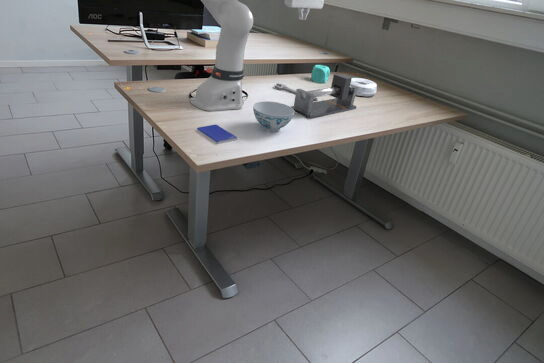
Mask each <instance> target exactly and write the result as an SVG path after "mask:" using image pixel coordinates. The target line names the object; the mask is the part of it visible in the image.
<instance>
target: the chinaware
mask: <svg viewBox="0 0 544 363" xmlns="http://www.w3.org/2000/svg"><path fill="white" fill-rule="evenodd" d="M291 107H292V106H290V105H288V104H285V103H281V102H276V101H268V100H267V101H265V100H264V101H259V102H258V101H257V102H255V103H254V104H253V106H252V109H253V110H252V111H253V115H254V117H255V120H256V122H257V123H259V124H260V126H261V127H262V129H263V130H264V131H266V132H272V133H273V132H274V133H275V132H279V131H280V130H281V129H282V128H284V127H286V126H287V125H288V124H289V123H290V122H291V120H292V119H293V118H294V114H295V112H294V109H293V108H291Z"/></svg>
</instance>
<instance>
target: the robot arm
mask: <svg viewBox="0 0 544 363" xmlns="http://www.w3.org/2000/svg"><path fill="white" fill-rule="evenodd" d="M200 1H201V2H202V4H203V5H204V7H205V8H206V10H207V11H208V12H209V13H210V14H211V16H212V18H213V19H214V20H215V21H216V23H217V24H218V25H219V26H220V33H219V37H218V41H217V44H216V47H215V61H214V62H215V63H214V64H215V65H214V66H213V68H211V67H209V66H207V68H206V73H208V74H210V76H209V77H208V78H206V80H204V81H203V82H202V83H201V84H200V85H199V86H197V88H196V92H195V93H196V94H195V96H193V97H190V98H189V102H190V104H191V105H193V106H194V107H196V108H199V109H200V110H204V111H207V112H217V111H229V110H231V111H232V110H241V109H243V105H244V99H243V79H244V71H245V70H244V60H245V59H244V58H245V49H246V45H247V41H248V39H249V34H250V31H251V30H252V29H253V25H254V16H253V14H252V11H251V10H250V8H249V7H248V5H246V4H244V3H242V2H240V1H239V0H200ZM324 1H325V0H284V6H285V7H288V8H293V9H295V8H297V13H298V20H300V21H306V20H307V16H308V15H309V13H310V10H311V9H313V10H322V9H323V7H324V3H325V2H324Z"/></svg>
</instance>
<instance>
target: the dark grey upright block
mask: <svg viewBox="0 0 544 363" xmlns="http://www.w3.org/2000/svg"><path fill="white" fill-rule="evenodd" d="M352 78H353V77H350V76H347V75H345V74H341V73H334V74H333V77H332V82H331V86H330V88H331V87H337V86H340V87H341V92H340V94H338V93H337V94H331V95H329V96H330V97H333V98H334V99H335V98H338V99H340V100H344V99H347V96H348V92H349V88H350V84H351V79H352Z"/></svg>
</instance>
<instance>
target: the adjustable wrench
mask: <svg viewBox="0 0 544 363" xmlns="http://www.w3.org/2000/svg"><path fill="white" fill-rule="evenodd" d="M273 88H274V89H276V90H278V91H283V92H284V91H285V92H288V93H291V94H294V95H296V89H293V88H290V87H289V86H287V85H286V84H283V83H278V82H277V83H276V84H274V86H273ZM318 99H319V97H314V98H313V102H318Z"/></svg>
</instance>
